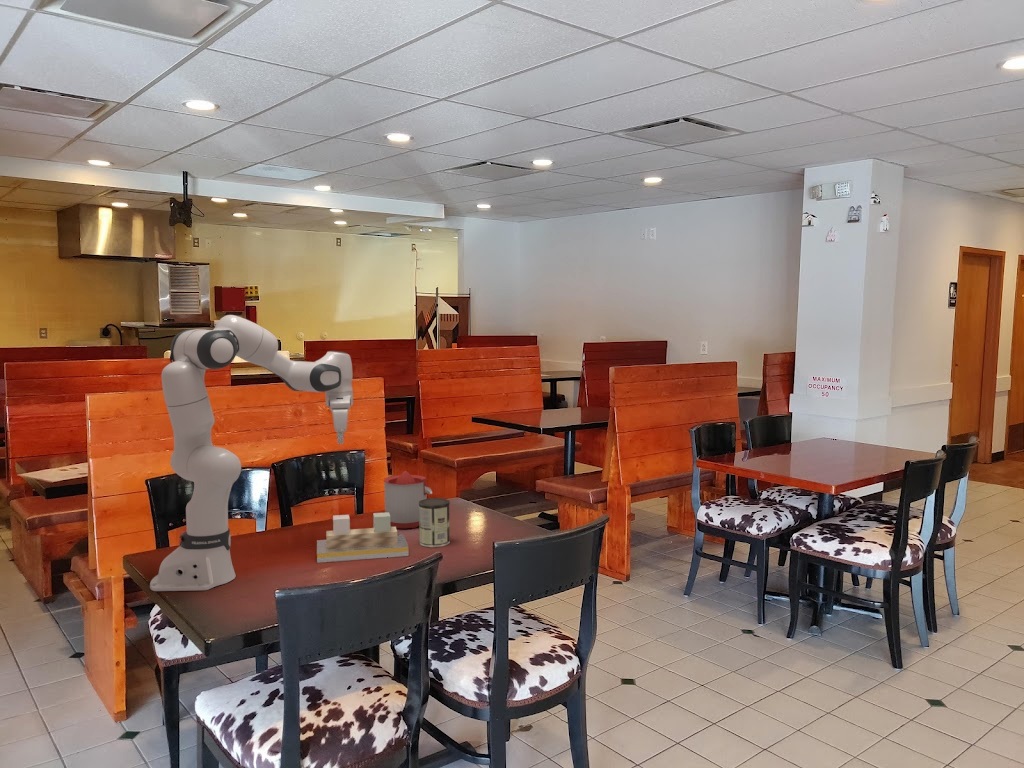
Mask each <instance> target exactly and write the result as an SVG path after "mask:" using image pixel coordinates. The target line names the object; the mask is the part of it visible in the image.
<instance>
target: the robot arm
mask: <svg viewBox="0 0 1024 768" xmlns="http://www.w3.org/2000/svg"><path fill="white" fill-rule="evenodd" d="M169 349H170V354H169V362H170V363H168V364H167V365H165V366H164V368H163V369H162V371H161V385H162V387H161V388H162V393H163V397H164V398H163V399H164V402H165V404H166V405H165V406H166V410H167V413H168V417H169V420H170V424H171V427H172V432H173V451H172V453H171V457H170V467H171V469H172V471H173V472H174V473H175V474H177V475H178V476H179V477H181V478H182V479H183V480H185V481H188V482H189V481H190V482H193V491H192V496H191V499H190V500H189V501H188V502H187V504H186V507H185V521H186V529H185V530H184V529H183V530H181V532H180V533H179V539H178V542H179V546H178V547H177V548H176V549H174V550H173V551H171V553H169V554H168V555H167V556H166V557H165V558H164V559H163V560H162V562H161V563H160V566H159V570H158V574H157V575H155V576H154V577H152V579H151V580H150V583H149V589H150V590H151V591H153V592H178V591H179V592H180V591H209V590H210V589H213V588H214V587H218V586H220V585H224V584H225V585H226V584H227V583H229V582H232V581H233V580H235V578H236V573H235V569H234V566H233V563H232V558H231V557H232V556H231V551H230V550H231V543H232V542H231V541H232V539H231V531H230V530H231V529H230V528H229V514H228V513H229V499H230V494H231V491H232V487H233V485H234V483H235V482H236V481H237V480H238V479H239V477H240V474H241V472H242V463H241V460H240V457H239V456H237V455H236V454H235V453H233V452H232V451H230V450H228V449H227V448H224V447H219V446H214V444H213V441H212V428H213V426H214V425H215V422H216V421H215V416H214V412H213V408H212V405H211V401H210V397H209V394H208V390H207V387H206V383H205V376H206V371H207V370H219V369H224V368H226V367H228V366H229V365H230V364H231V363H232V362H233V361H234V360H235V357H238V358H240V359H241V360H243V361H246V362H248V363H250V364H253V365H256V366H260V367H262V368H263V369H265V370H267V371H268V372H271V373H272V374H274V375H276V376H277V377H279V378H280V379H281V380H282V381H283V383H284V384H285V385H286V386H287V388H289V390H291V391H294V392H309V393H324V392H325V393H324V394H325V395H324V396H325V407H326V406H327V407H329V411H330V412H331V415H332V420H333V427H334V429H333V430H334V432H336V440H337V444H338V445H343V444H344V436H345V434H344V433H345V432H347V429H348V421H349V411H350V408H351V406H353V405H354V389H353V386H352V385H353V384H352V383H353V382H352V381H353V375H354V373H353V364H352V363H353V362H352V358H351V355H350V354H348V353H347V352H345V351H337V350H328V351H327V352H326V354H324V355H323V356H322V357H321V358H319V359H317V360H315V361H303V360H292V359H289V358H287V357H286V356H284V355H282V354H281V353H280V352H278V350H279V342H278V339H277V337H276V336H275V334H273V333H272V332H270V331H269V330H268V329H266V328H264V327H263V326H261V325H259V324H257V323H256V322H253V321H251V320H249V319H247V318H243V317H240V316H238V315H234V314H227V315H225V316H223V317H221V318H220V319H219V320H218V321H217V322H216V324H215V326H214V328H213V329H205V328H197V329H192V328H191V329H186V330H182V331H180V332H179V333H177V334H176V335H175V336H173V338H172V340H171V344H170V348H169Z"/></svg>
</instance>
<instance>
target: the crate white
mask: <svg viewBox="0 0 1024 768" xmlns="http://www.w3.org/2000/svg"><path fill="white" fill-rule="evenodd" d="M350 521H351V519H350V514H340V515H338V514H337V515H332V523H333V524H332V526H333V529H332V531H333V533H334V535H346V534H350V529H351V527H350V526H351V522H350Z"/></svg>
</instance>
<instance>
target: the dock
mask: <svg viewBox="0 0 1024 768" xmlns="http://www.w3.org/2000/svg"><path fill="white" fill-rule="evenodd" d="M409 552H410V551H409V544H408V542H407V540H406V537H405V535H404V534H397V544H388V545H373V546H359V547H345V548H331V549H327V541H326V539H320V540H318V539H317V540H316V563H317V564H319V563H321V564H322V563H330V562H331V563H333V562H335V563H336V562H346V561H359V560H373V559H386V558H387V557H388V558H398V557H399V558H400V557H409V556H410V555H409ZM388 558H387V559H388Z"/></svg>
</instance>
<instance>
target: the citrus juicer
mask: <svg viewBox="0 0 1024 768" xmlns="http://www.w3.org/2000/svg"><path fill="white" fill-rule="evenodd" d="M427 478H428V477H426V476H424V475H420V474H410V472H408V471H407V470H404V471H403V472H402V473H401V474H399V475H392V476H387V477H385V478H384V479H383V482H384V484H383V485H384V510H385V513H386V512H389V514H390V527H396V529H416V528H419V501H421V500H424V499H428V497H427V496H428V495H432V494H433V491H432V489H431V487H428V485H427V484H428V481H427V480H428V479H427Z"/></svg>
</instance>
